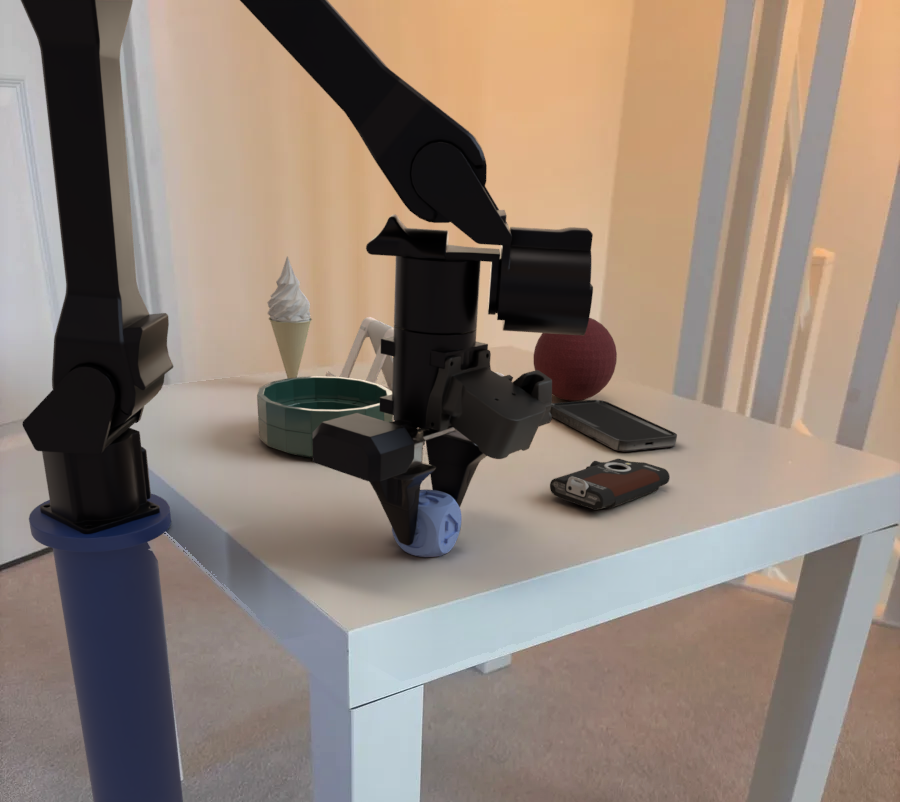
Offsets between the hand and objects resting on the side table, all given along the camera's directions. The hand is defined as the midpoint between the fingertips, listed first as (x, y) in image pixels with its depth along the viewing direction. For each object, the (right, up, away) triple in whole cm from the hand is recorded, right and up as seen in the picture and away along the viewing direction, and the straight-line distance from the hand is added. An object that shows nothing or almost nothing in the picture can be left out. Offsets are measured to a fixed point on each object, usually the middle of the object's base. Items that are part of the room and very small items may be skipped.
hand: (425, 535), depth 70 cm
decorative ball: (+17, +20, +43) cm, 50 cm away
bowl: (-11, +11, +23) cm, 27 cm away
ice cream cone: (-17, +21, +41) cm, 49 cm away
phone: (+20, +14, +31) cm, 40 cm away
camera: (+16, +5, +13) cm, 21 cm away
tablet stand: (-8, +19, +39) cm, 44 cm away
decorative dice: (0, -1, +1) cm, 1 cm away
